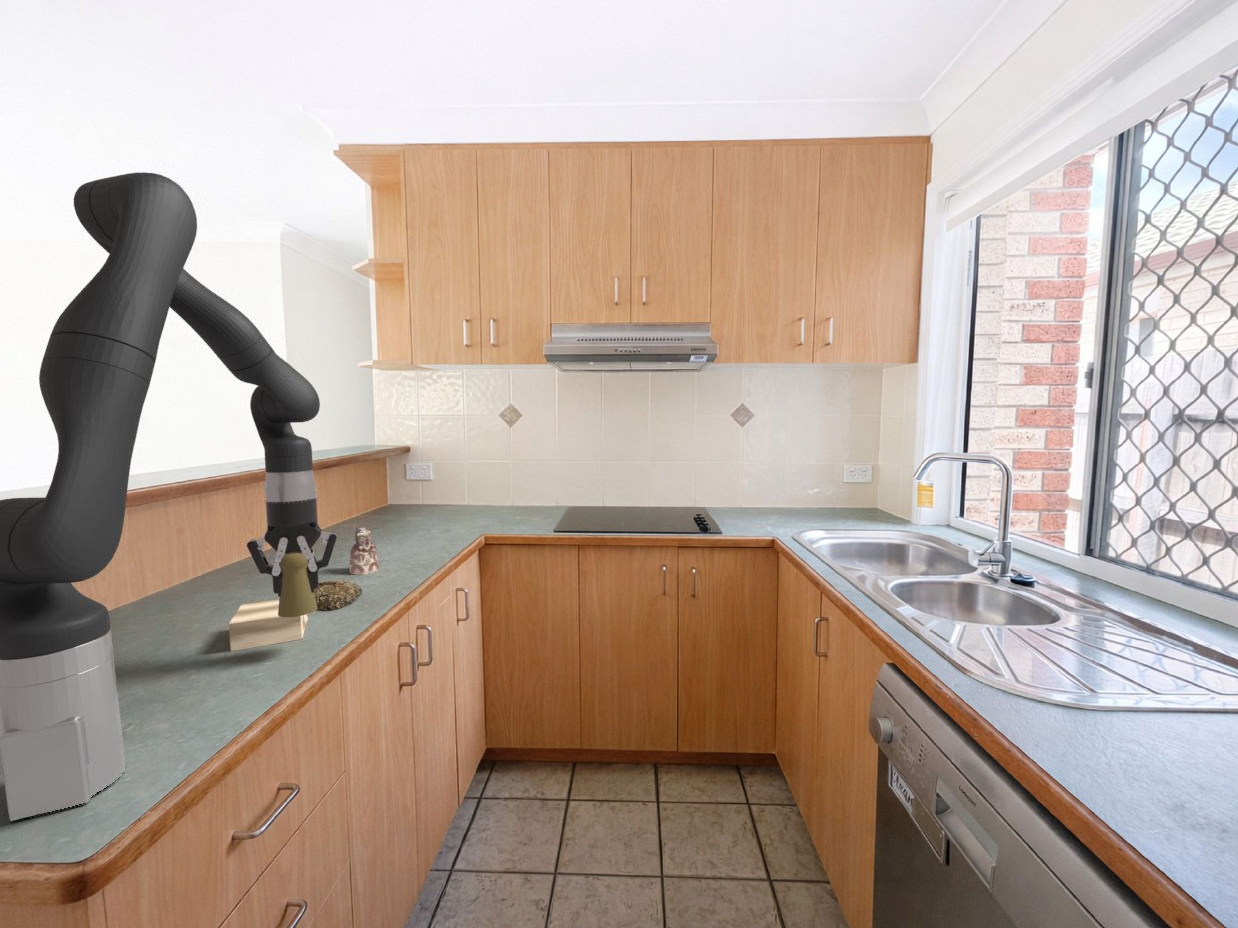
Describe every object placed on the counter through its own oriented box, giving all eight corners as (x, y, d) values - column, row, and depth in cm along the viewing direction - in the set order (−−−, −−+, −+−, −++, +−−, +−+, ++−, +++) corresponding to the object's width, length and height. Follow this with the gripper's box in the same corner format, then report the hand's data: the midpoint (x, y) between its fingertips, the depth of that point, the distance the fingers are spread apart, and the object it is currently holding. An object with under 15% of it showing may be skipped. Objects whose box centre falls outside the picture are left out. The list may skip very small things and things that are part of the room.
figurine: (353, 576, 138) (350, 531, 137) (346, 570, 143) (343, 527, 142) (382, 571, 143) (379, 527, 142) (374, 565, 148) (371, 523, 147)
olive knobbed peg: (299, 618, 90) (295, 554, 89) (269, 616, 91) (265, 553, 90) (325, 606, 96) (322, 546, 95) (297, 604, 97) (293, 545, 96)
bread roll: (369, 593, 126) (368, 572, 125) (342, 612, 114) (340, 590, 113) (316, 593, 126) (315, 573, 126) (283, 613, 114) (281, 590, 113)
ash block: (302, 639, 99) (300, 613, 99) (230, 651, 95) (228, 624, 94) (307, 618, 109) (306, 595, 109) (243, 628, 105) (241, 604, 104)
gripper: (237, 502, 86) (244, 606, 87) (336, 496, 92) (341, 593, 93) (246, 497, 92) (253, 593, 94) (338, 492, 99) (343, 582, 100)
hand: (297, 592), depth 93 cm, fingers closed on olive knobbed peg, 4 cm apart
